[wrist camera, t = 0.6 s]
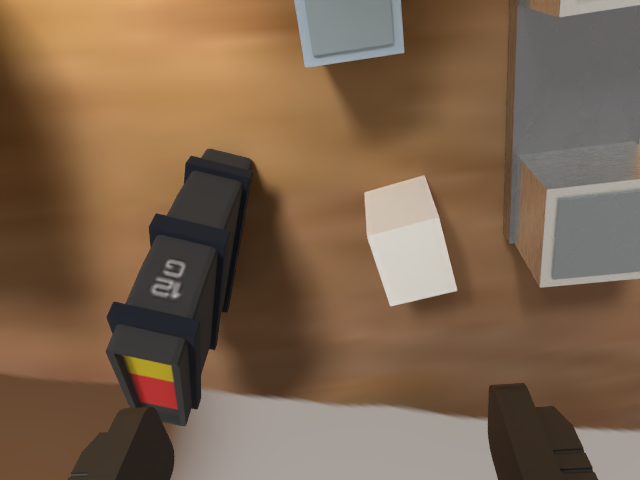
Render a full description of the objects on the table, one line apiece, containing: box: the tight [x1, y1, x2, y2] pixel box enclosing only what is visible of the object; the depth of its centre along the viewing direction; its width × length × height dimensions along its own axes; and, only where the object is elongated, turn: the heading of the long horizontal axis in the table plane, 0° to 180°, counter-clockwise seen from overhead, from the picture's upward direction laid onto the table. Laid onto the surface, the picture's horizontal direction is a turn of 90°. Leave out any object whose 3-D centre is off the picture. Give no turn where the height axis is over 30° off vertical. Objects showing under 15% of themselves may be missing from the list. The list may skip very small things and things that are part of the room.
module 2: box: [364, 175, 457, 306], centre depth 31 cm, size 5×4×6 cm
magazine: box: [106, 149, 253, 426], centre depth 30 cm, size 4×13×15 cm, turn 166°
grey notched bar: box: [503, 0, 640, 288], centre depth 25 cm, size 20×7×7 cm, turn 9°
